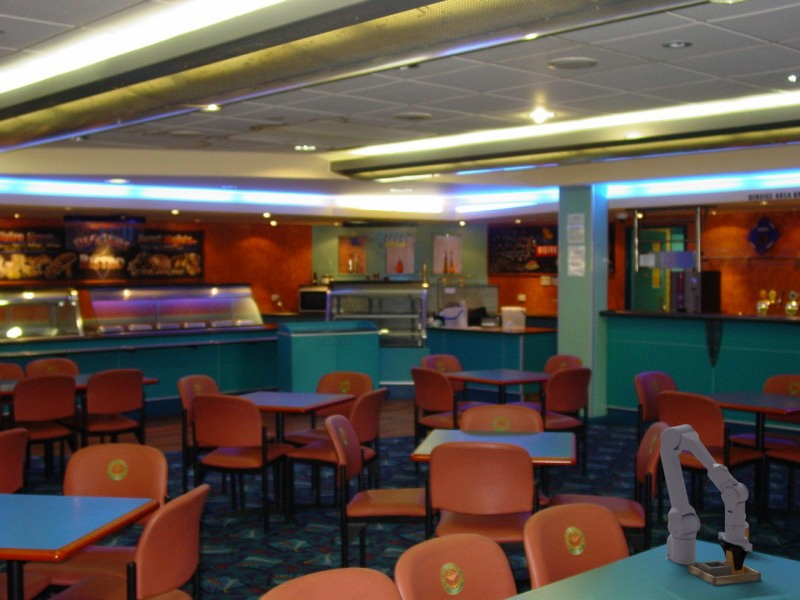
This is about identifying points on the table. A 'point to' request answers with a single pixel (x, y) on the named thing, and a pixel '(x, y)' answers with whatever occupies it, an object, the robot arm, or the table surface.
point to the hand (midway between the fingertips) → (734, 568)
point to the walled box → (746, 576)
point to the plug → (732, 563)
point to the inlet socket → (715, 568)
